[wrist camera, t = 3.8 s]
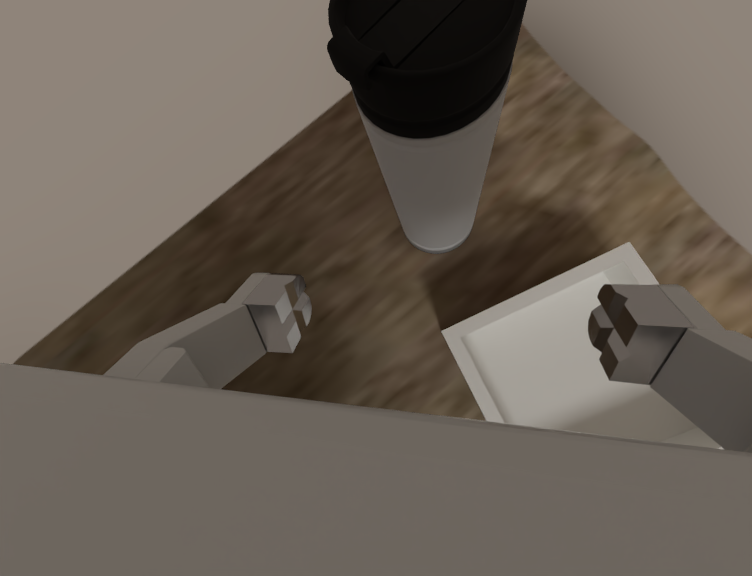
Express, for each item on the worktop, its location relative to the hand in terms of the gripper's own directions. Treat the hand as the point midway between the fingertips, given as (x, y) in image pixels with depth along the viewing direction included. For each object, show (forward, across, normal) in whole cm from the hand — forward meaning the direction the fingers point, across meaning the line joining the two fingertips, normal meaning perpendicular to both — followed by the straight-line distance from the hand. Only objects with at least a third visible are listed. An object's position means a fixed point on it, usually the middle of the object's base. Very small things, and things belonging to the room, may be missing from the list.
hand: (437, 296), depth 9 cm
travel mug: (+20, +1, +7) cm, 21 cm away
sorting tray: (+11, -10, +16) cm, 21 cm away
